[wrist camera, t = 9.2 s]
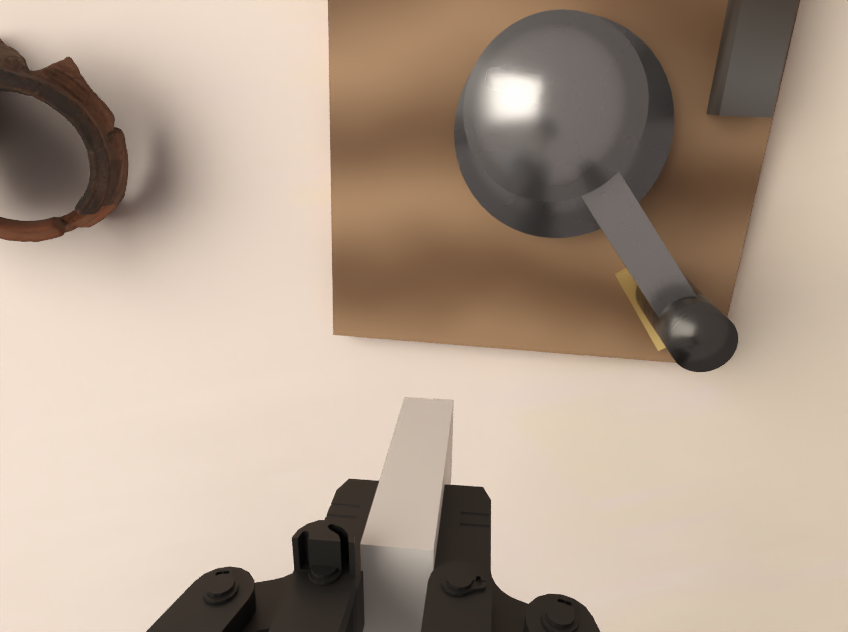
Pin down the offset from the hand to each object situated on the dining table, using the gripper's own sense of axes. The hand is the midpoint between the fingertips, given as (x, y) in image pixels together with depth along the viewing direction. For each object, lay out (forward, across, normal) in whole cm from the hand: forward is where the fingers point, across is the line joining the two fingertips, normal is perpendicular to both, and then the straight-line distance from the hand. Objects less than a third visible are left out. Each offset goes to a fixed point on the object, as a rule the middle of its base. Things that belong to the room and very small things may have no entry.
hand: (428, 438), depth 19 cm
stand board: (+13, +4, +8) cm, 16 cm away
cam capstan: (+12, +6, +7) cm, 15 cm away
